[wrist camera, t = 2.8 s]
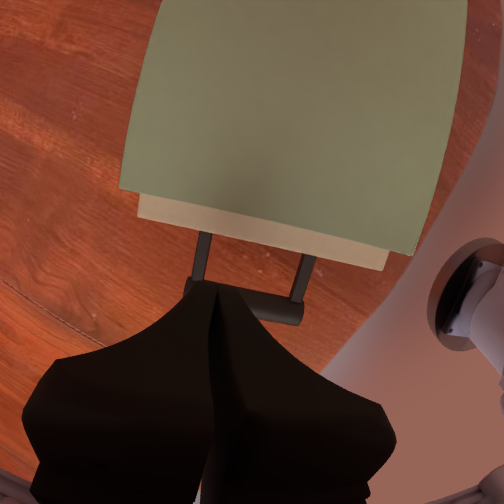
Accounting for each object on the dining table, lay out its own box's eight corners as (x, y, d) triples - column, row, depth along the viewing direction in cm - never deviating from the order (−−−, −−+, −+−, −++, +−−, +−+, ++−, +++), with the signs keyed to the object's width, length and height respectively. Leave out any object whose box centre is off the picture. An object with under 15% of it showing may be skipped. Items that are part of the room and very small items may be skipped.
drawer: (319, 294, 21) (345, 359, 15) (162, 261, 20) (127, 317, 14) (389, 40, 15) (446, 8, 9) (222, -6, 14) (210, -64, 8)
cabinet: (352, 208, 20) (413, 257, 12) (171, 165, 19) (117, 189, 11) (397, 19, 15) (468, -25, 7) (223, -29, 14) (209, -107, 6)
